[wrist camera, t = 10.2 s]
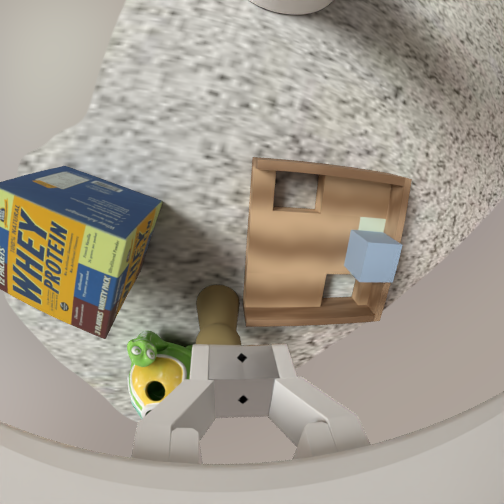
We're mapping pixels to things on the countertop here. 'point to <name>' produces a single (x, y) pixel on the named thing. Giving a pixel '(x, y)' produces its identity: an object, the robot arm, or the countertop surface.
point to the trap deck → (316, 243)
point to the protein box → (73, 244)
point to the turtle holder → (155, 370)
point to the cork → (218, 316)
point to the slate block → (372, 256)
